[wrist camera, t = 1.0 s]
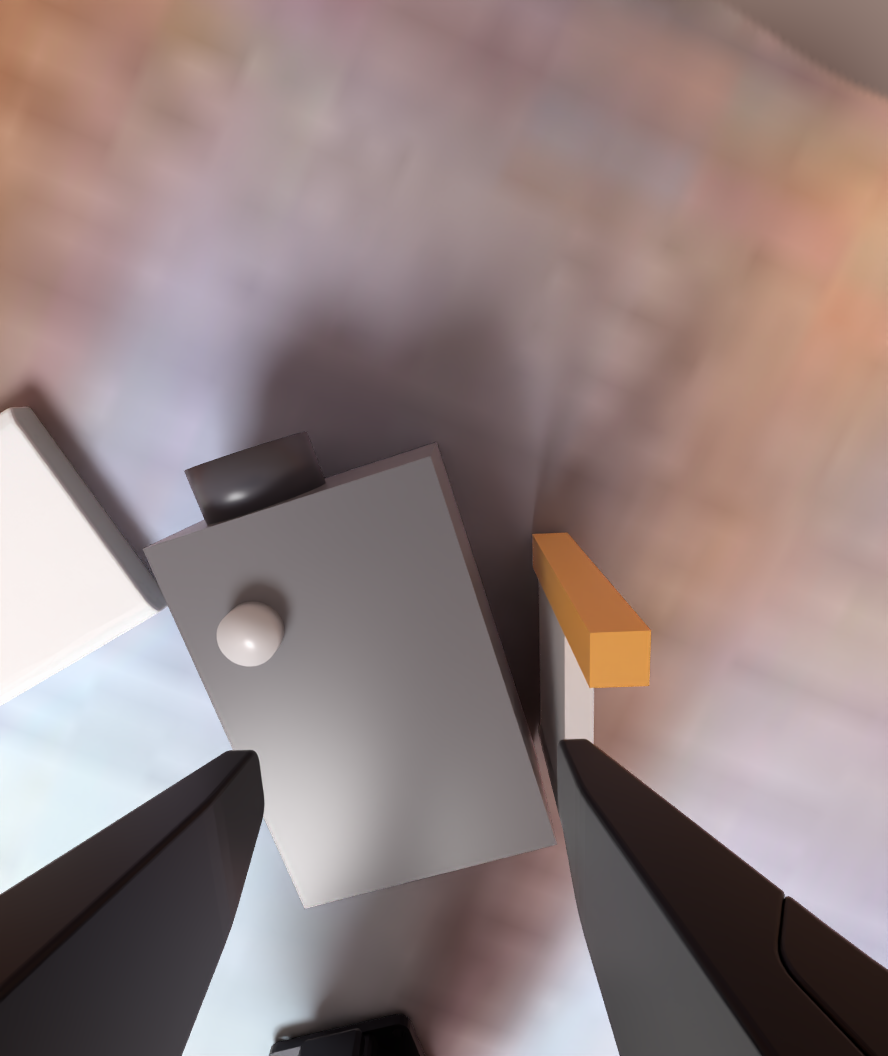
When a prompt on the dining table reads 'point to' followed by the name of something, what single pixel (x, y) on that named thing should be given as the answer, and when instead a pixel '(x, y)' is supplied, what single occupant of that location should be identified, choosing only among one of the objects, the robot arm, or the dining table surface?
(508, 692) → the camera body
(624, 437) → the dining table surface
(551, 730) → the side door
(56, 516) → the external hard drive
